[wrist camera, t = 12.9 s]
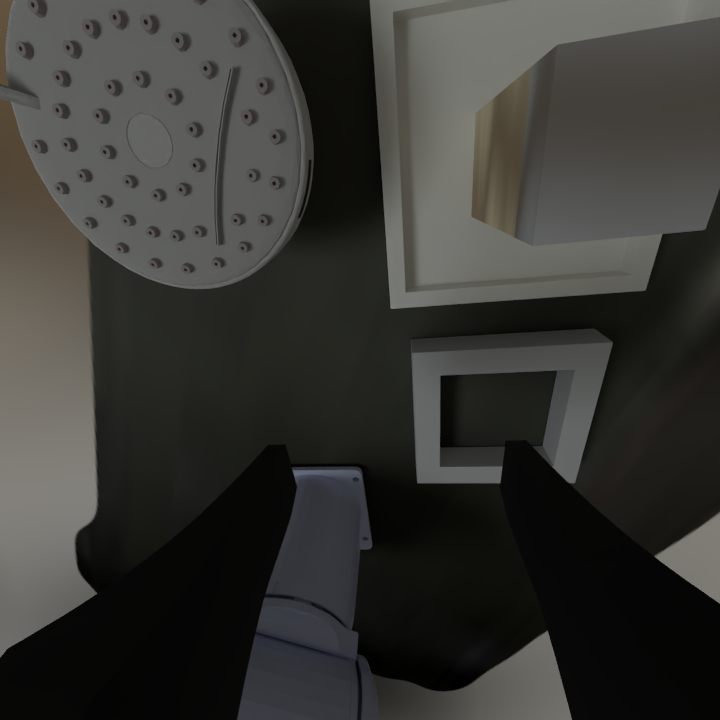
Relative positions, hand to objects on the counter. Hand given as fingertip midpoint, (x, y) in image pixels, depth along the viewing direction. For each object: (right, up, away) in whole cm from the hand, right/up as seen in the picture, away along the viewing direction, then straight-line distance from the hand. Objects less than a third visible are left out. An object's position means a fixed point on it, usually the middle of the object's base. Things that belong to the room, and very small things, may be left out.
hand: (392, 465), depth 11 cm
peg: (+6, +12, +3) cm, 14 cm away
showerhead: (-7, +13, +5) cm, 16 cm away
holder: (+7, +1, +10) cm, 13 cm away
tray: (+6, +12, +4) cm, 14 cm away
